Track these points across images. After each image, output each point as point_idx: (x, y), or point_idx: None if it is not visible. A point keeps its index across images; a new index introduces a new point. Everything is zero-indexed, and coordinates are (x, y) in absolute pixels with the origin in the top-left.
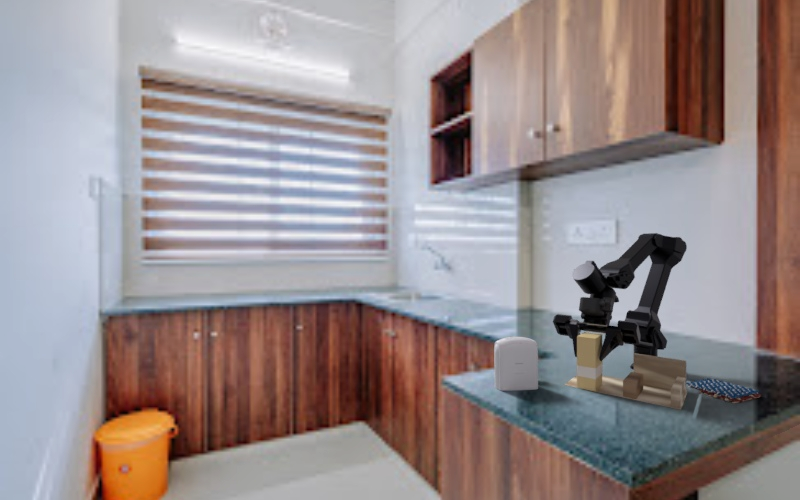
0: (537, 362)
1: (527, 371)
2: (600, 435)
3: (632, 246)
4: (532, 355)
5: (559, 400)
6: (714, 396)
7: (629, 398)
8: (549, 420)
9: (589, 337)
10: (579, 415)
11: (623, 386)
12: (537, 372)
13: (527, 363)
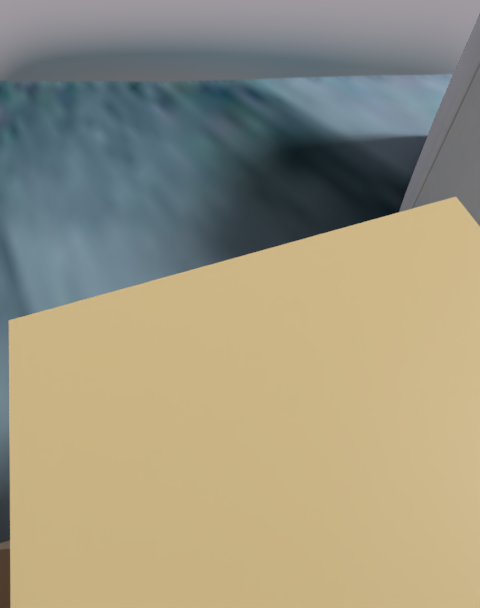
0: (443, 122)
1: (432, 126)
2: (20, 144)
3: None
4: (469, 45)
5: (258, 248)
6: None
7: (5, 543)
8: (167, 113)
9: (187, 322)
10: (124, 198)
11: (5, 551)
12: (418, 177)
13: (452, 80)
